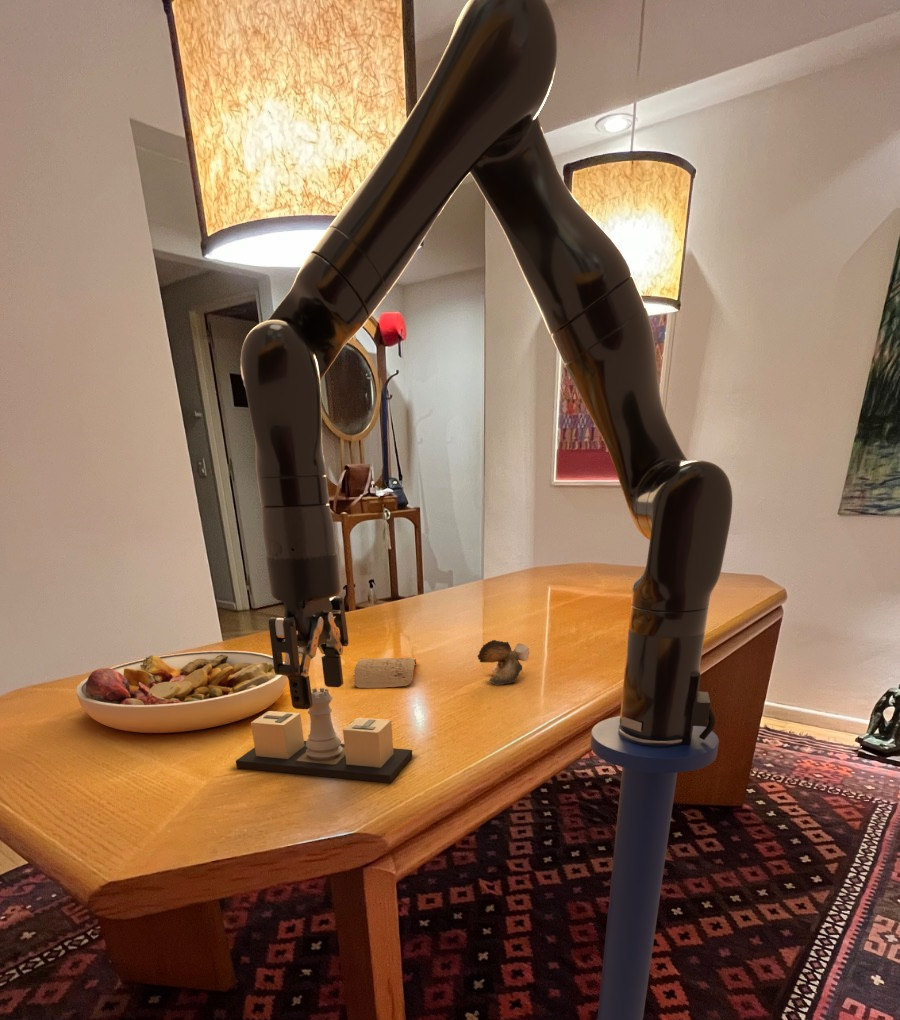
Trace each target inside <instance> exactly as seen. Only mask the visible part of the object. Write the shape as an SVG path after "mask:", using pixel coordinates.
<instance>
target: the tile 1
mask: <svg viewBox="0 0 900 1020" xmlns="http://www.w3.org/2000/svg"><path fill="white" fill-rule="evenodd" d="M250 727H251V732H252V738H253V745H254V747H255V752H256V756H260V757H271V758H282V759H289V758H290V757H291V756H293V755H294V754H295V753H296V752H298V751H299V750H300V749H301V748H303V747H304V741H305V740H304V731H303V723H302V714H301V713H300V712H291V711H289V712H288V711H275V710H268V711H266V712H265V713H263V714H261V715H260V716H259V717H257V718H255V719H254V720H252V721H250Z"/></svg>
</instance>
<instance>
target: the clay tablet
mask: <svg viewBox="0 0 900 1020" xmlns="http://www.w3.org/2000/svg"><path fill="white" fill-rule="evenodd" d="M415 665H417V659H416V658H414V657H413V658H412V657H385V658H384V657H382V658H381V657H380V658H373V657H372V658H363V657H360V659H358V661H357V663H355V666H354V670H353V671H354V672H353V673H354V675H353V683H354V686H355V687H357V688H359V689H377V688H378V689H379V688H380V689H381V688H396V687H406V686H408V685H410V684H411V683H412V681H413V679H414V674H415V673H414V670H415Z"/></svg>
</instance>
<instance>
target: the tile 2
mask: <svg viewBox="0 0 900 1020" xmlns="http://www.w3.org/2000/svg"><path fill="white" fill-rule="evenodd" d="M342 733H343V734H342V735H343V744H344V745H345V755H346V764H347V765H357V766H368V767H379V768H381V767H382V766H383V765H384V764H385V763H386V761H387V760H388V759H389V758H390V757H391V756H392V755H393V754H394V753H393V748H394V739H393V723H392V719H385V718H384V719H383V718H373V717H372V718H371V717H356V718H355V719H353V721H352V722H351V723H349V724H348V725H347V726H346V727H344V728H343V729H342Z"/></svg>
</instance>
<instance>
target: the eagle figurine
mask: <svg viewBox="0 0 900 1020" xmlns="http://www.w3.org/2000/svg"><path fill="white" fill-rule="evenodd" d="M529 655H530V648H529V647H528V646H527V645H525V644H524V643H522V642H521V643H520V642H519V643H517V644H516V645H515V648H514V649H513V650H512V647H511V644H510V643H509V642H508V641H500V640H496V639H491V640H490V641H487V643H485V644H483V645H482V647H481V648H480V650H479V651H478V655H477V659H478V660H479V663H491V664H492V663H493V664H494V663H496V665H495V666H494V668H492V670H491V671H492V672H491V676H492V677H491V678H490V679H489V682H490V683H491V684H492V685H496V686H500V685H505V684H506V685H507V684H511V683H513V682H514V681H516V680H517V678H518V676H519V674H520V672H521V671H523V665H522V664H521V662H527V660H528V659H529ZM520 661H521V662H520Z"/></svg>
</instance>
